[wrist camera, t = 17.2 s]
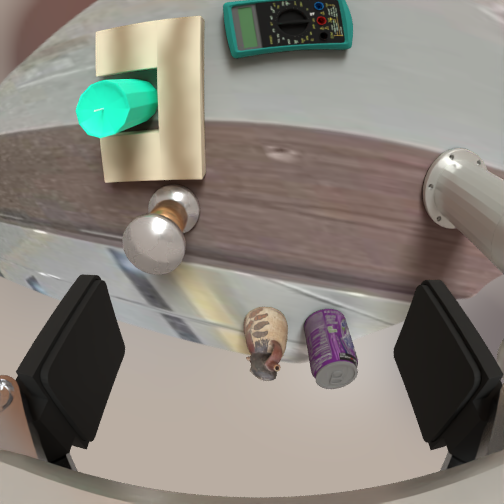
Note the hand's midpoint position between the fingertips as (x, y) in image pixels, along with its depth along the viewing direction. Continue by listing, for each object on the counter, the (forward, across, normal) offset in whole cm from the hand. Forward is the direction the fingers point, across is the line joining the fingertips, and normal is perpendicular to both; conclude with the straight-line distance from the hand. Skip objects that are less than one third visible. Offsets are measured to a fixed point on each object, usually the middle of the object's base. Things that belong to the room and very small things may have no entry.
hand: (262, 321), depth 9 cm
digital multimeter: (+34, -3, -14) cm, 37 cm away
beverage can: (+34, -12, +30) cm, 47 cm away
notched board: (+33, +13, -5) cm, 36 cm away
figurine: (+34, -2, +30) cm, 45 cm away
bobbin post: (+33, +11, +10) cm, 36 cm away
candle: (+34, +15, -5) cm, 37 cm away
